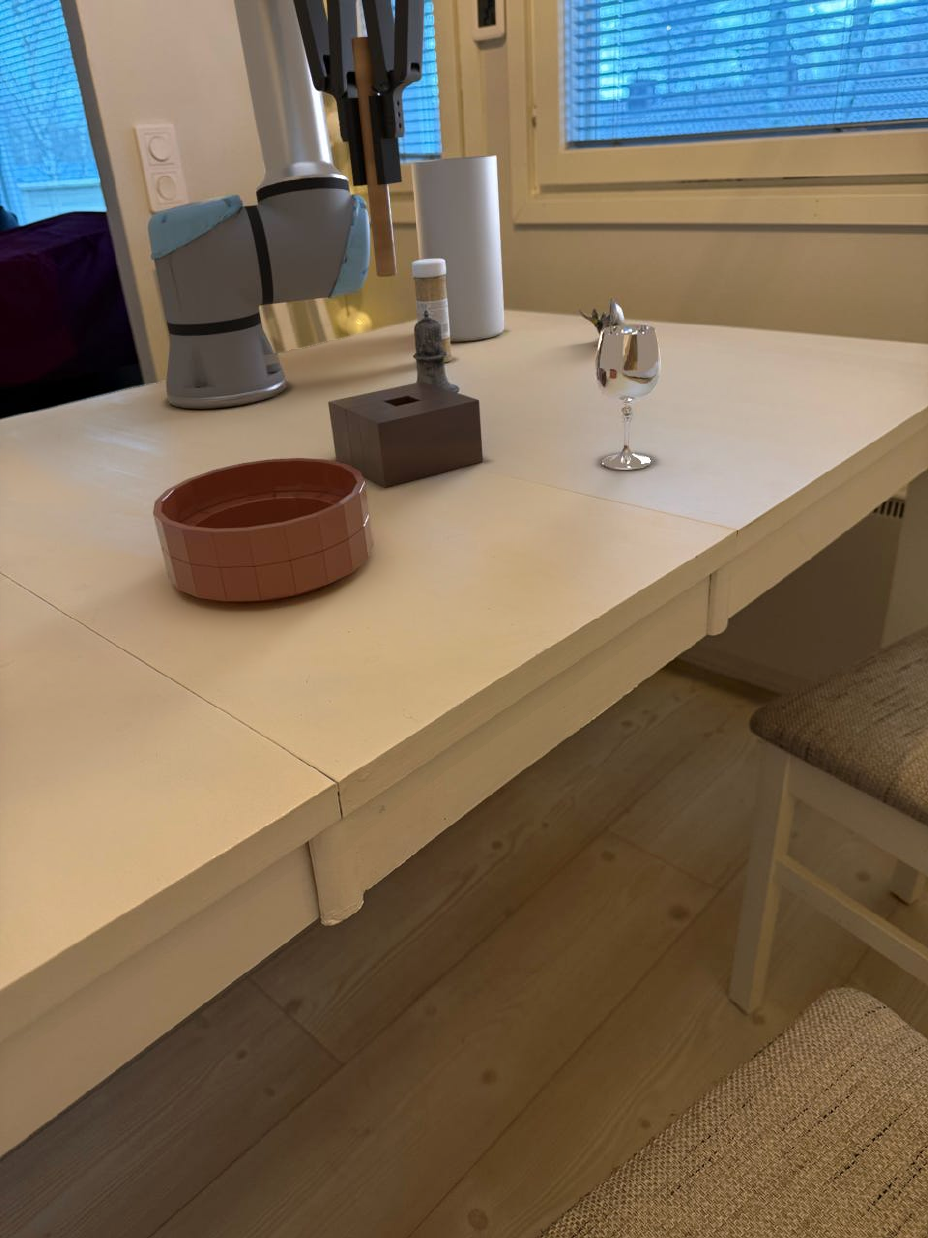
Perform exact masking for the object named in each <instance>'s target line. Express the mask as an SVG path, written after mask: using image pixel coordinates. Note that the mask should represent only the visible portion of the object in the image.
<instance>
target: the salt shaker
mask: <svg viewBox="0 0 928 1238" xmlns="http://www.w3.org/2000/svg"><path fill="white" fill-rule="evenodd" d="M423 315H424V318H423V319H422V320H421V321H419V322H418V321H417V322H416V323H415V325H414V326H413V333H414V335H413V336H414V344H415V353H414V354H413V355H412V358H413V359H414V360H415V362H416V363H415V364H416V374H417V375H416V383H418V382H422V381H423V382H426V383H429V384H432V385H435V386H438V387H441V388H444V389H447V390H450V391H453V392H456V393H459V392H460V387H459V385H456V384H452V383H450V382H449V381H448V377H447V374H446V366H445V365H446V364H445V363H444V357H445V356H446V354H447V353H446V352H444V351H443V347H442V335H441V326H440V324H439V323H438V322H437V321H436V320H432V319H431V318H429V316H428V315H429V313H428V312H427V310H425V312H424V314H423Z"/></svg>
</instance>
